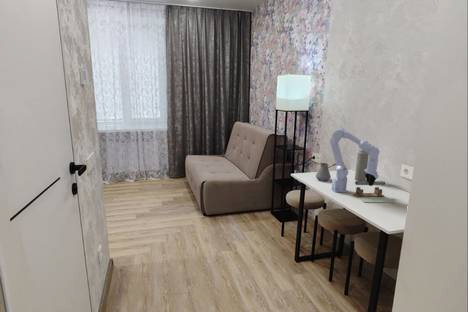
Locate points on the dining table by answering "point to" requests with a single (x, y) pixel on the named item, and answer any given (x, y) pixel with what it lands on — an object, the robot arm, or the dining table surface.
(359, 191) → the rack
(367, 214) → the dining table surface
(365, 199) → the pad
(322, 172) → the coffee pot
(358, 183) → the rail
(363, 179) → the thermos bottle
